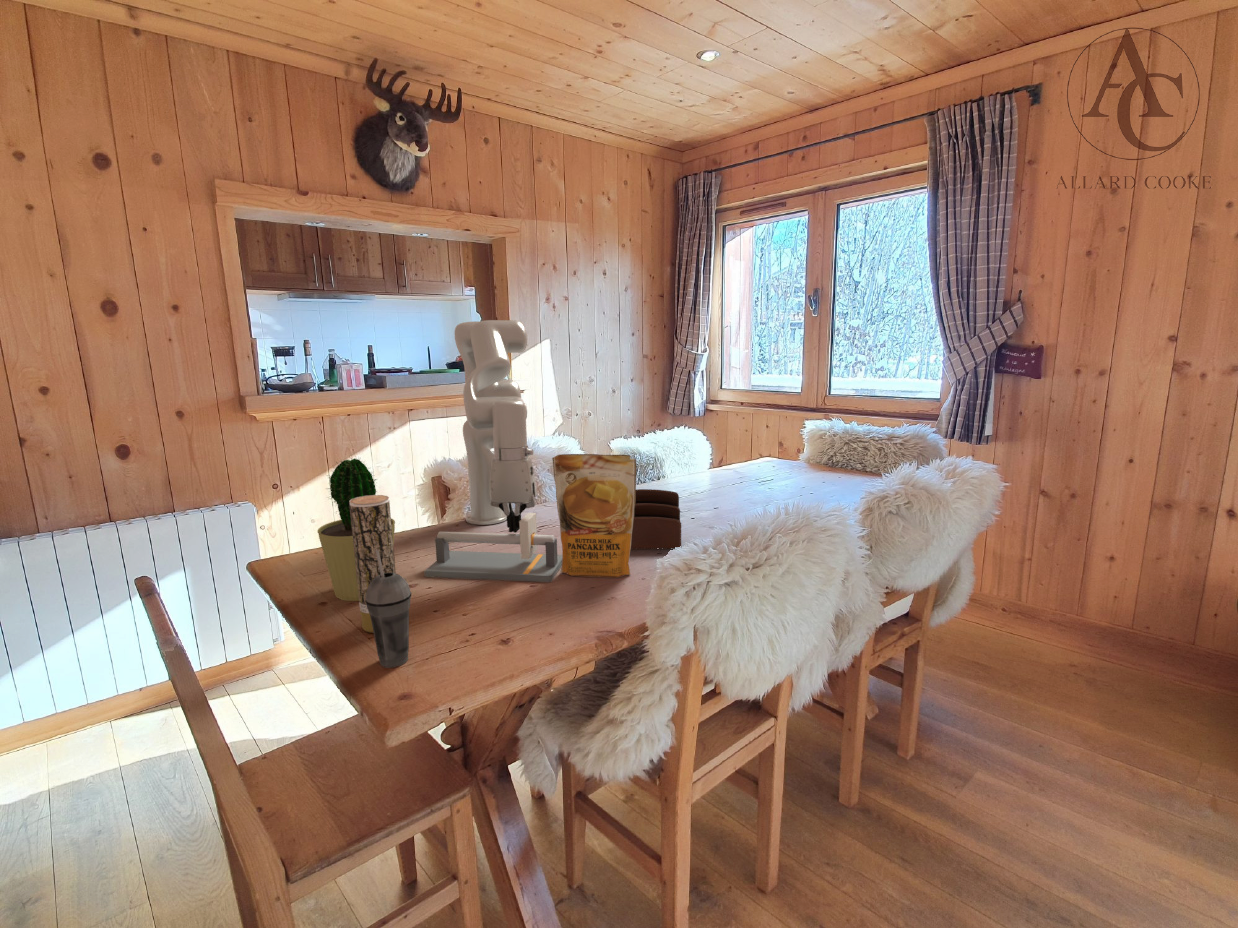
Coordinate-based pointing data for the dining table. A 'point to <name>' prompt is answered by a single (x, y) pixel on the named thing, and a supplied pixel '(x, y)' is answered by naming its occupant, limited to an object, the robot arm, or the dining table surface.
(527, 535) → the collar
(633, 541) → the letter holder
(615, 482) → the pancake mix bag
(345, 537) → the potted cactus
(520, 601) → the dining table surface
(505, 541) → the pipe rig
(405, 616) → the beverage cup
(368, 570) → the bark wrapped tube
